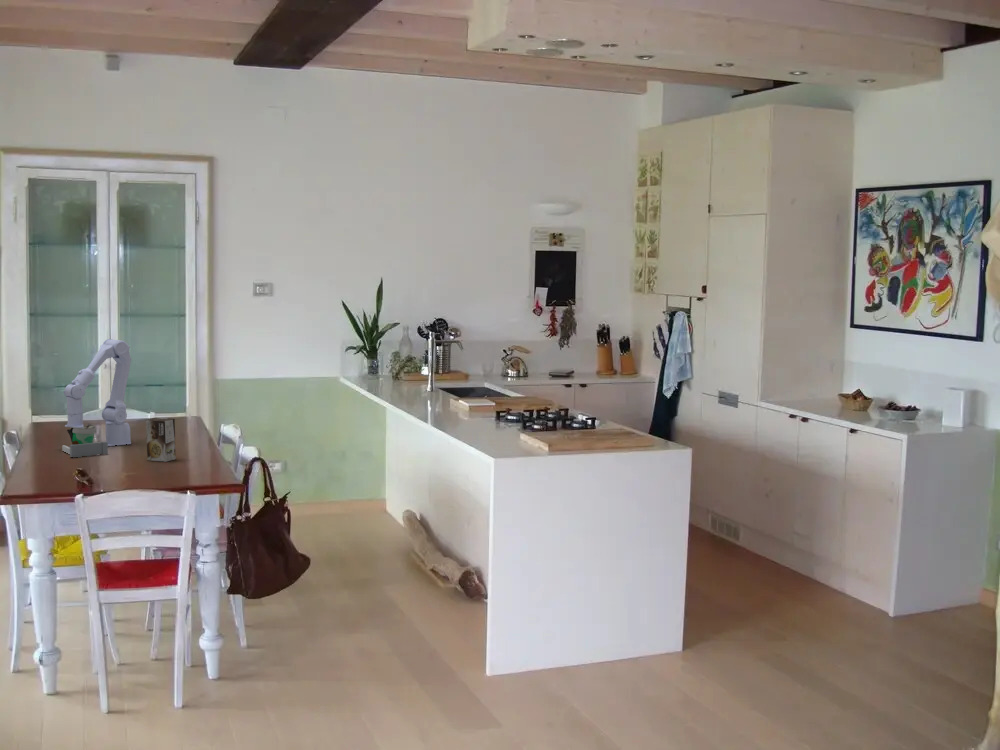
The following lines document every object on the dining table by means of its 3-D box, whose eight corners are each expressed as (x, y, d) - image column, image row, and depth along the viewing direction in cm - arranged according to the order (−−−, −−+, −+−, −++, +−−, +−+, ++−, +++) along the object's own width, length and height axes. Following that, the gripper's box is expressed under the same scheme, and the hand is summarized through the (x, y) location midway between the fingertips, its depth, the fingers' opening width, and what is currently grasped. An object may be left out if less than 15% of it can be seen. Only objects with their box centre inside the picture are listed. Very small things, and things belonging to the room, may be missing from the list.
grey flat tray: (94, 448, 427) (93, 436, 426) (107, 454, 414) (107, 442, 414) (58, 452, 418) (58, 439, 418) (71, 458, 405) (71, 445, 405)
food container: (83, 454, 413) (87, 430, 412) (69, 451, 414) (72, 427, 413) (99, 450, 425) (103, 426, 424) (85, 447, 426) (88, 423, 425)
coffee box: (176, 459, 407) (175, 418, 405) (166, 462, 401) (165, 420, 399) (157, 457, 410) (156, 417, 408) (146, 460, 404) (145, 419, 402)
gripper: (59, 412, 424) (60, 445, 426) (70, 416, 413) (71, 450, 415) (76, 410, 429) (78, 443, 430) (88, 415, 418) (89, 448, 419)
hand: (76, 446), depth 423 cm, fingers closed
